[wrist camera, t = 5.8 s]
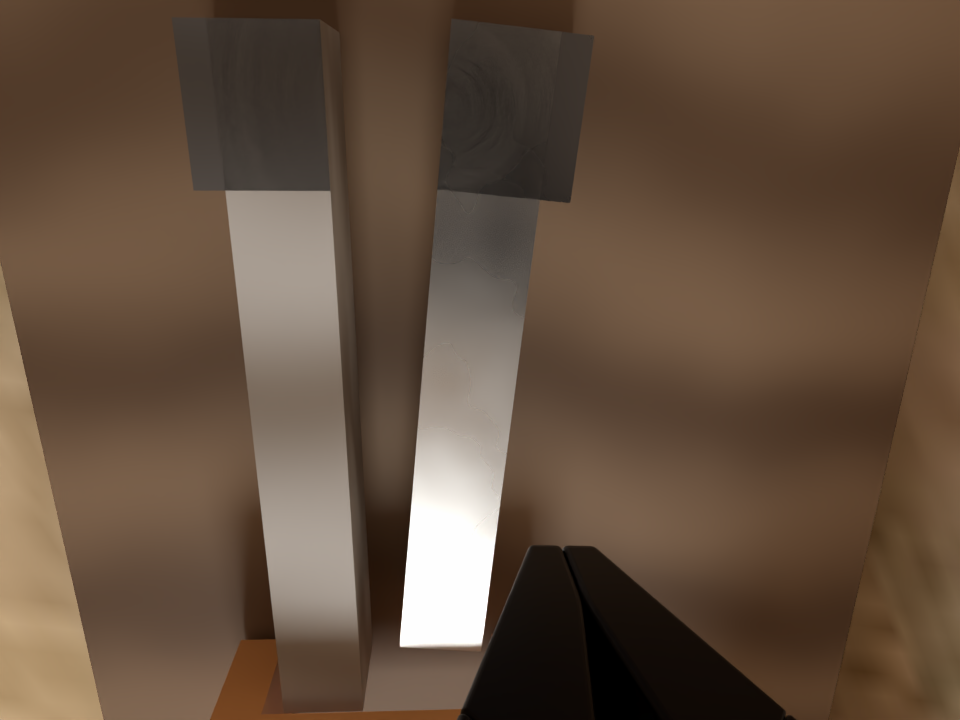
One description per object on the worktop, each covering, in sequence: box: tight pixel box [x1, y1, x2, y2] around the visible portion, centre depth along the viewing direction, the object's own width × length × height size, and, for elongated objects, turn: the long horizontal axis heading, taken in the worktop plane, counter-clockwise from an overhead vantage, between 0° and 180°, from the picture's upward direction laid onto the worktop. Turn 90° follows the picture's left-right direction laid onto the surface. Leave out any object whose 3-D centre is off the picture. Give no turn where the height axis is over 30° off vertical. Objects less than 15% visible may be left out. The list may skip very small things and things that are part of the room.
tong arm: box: [400, 18, 594, 651], centre depth 16 cm, size 14×3×2 cm, turn 174°
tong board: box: [0, 0, 960, 720], centre depth 17 cm, size 26×22×3 cm
